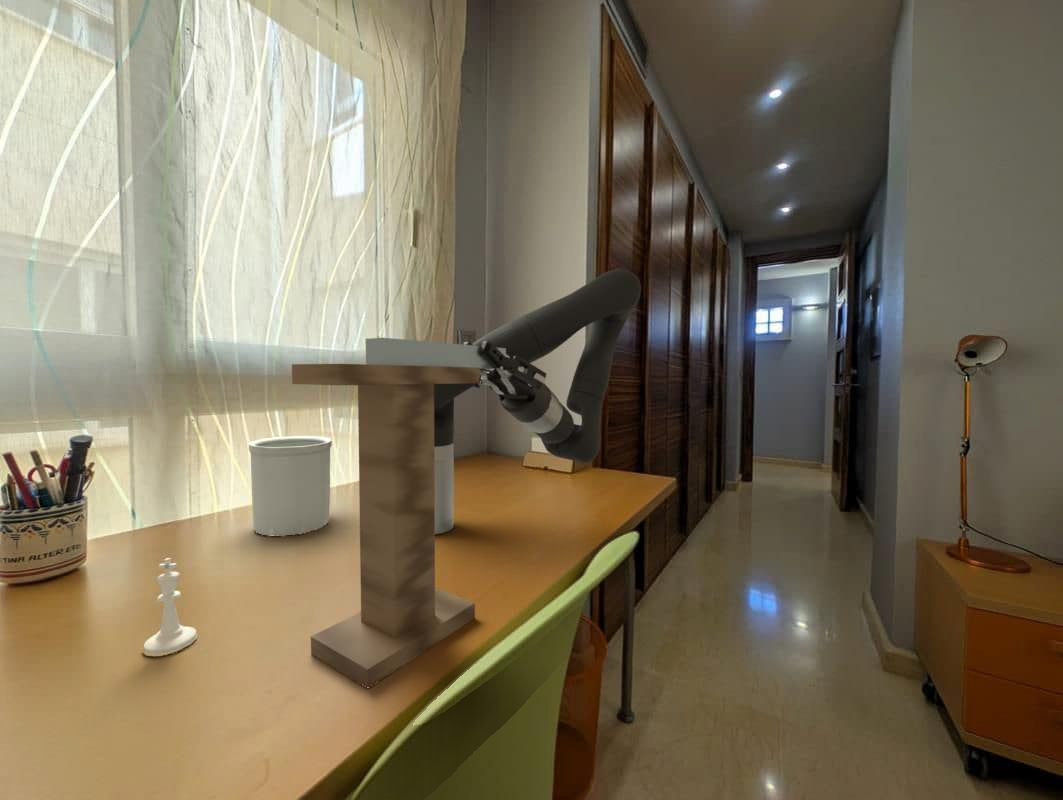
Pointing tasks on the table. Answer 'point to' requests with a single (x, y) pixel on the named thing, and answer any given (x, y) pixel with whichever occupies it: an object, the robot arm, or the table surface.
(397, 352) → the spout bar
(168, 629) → the chess piece
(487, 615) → the table surface
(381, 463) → the walnut stand
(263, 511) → the utensil holder
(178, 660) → the table surface
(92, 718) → the table surface
